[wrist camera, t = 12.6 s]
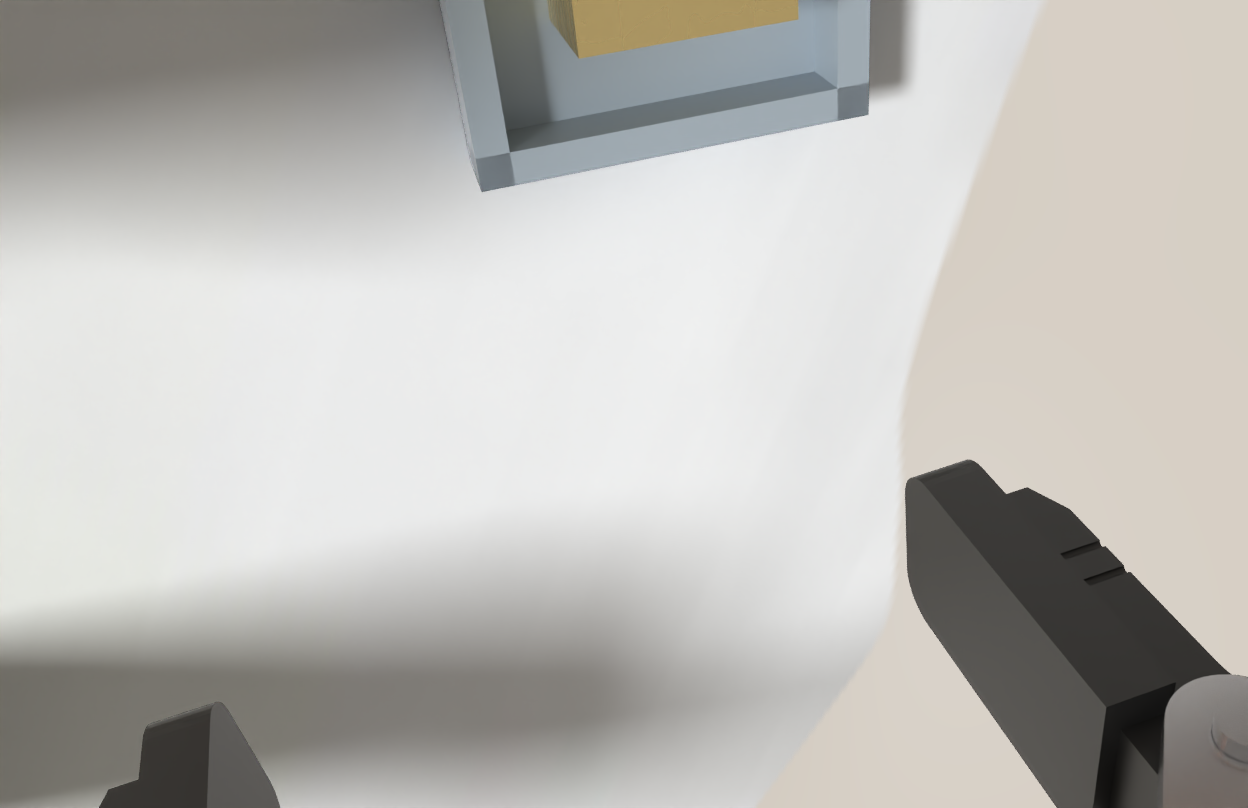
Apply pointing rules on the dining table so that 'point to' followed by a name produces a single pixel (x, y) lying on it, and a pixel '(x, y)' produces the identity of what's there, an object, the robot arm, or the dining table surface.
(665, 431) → the dining table surface
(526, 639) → the dining table surface
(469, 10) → the tray
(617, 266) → the dining table surface
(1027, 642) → the robot arm
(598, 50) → the gold rectangular hollow block
